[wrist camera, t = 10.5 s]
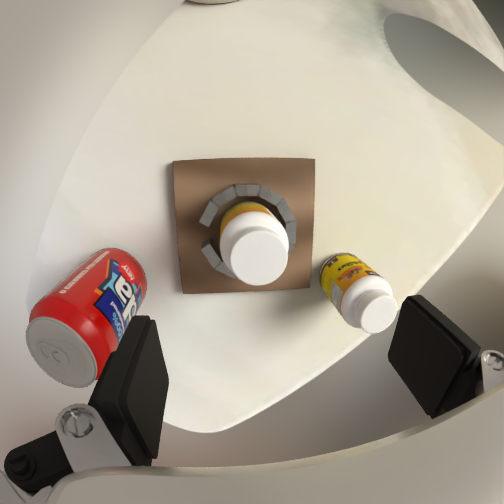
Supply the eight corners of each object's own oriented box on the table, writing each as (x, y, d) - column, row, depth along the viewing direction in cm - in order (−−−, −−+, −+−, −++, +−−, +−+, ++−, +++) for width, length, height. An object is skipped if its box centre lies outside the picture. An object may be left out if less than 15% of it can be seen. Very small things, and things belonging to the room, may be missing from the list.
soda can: (90, 238, 28) (11, 296, 14) (152, 253, 29) (101, 328, 15) (88, 298, 30) (29, 375, 16) (146, 314, 31) (108, 405, 17)
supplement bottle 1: (209, 229, 28) (202, 263, 19) (245, 188, 27) (256, 203, 18) (249, 262, 29) (260, 309, 20) (284, 224, 28) (313, 255, 19)
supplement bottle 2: (362, 250, 32) (411, 285, 22) (355, 293, 33) (396, 337, 24) (319, 250, 31) (358, 289, 21) (314, 295, 33) (346, 345, 23)
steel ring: (199, 184, 26) (197, 186, 24) (290, 182, 27) (296, 184, 25) (204, 271, 29) (203, 281, 27) (289, 268, 30) (294, 276, 28)
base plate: (175, 161, 27) (172, 161, 25) (311, 158, 28) (315, 158, 27) (184, 289, 31) (183, 293, 30) (306, 283, 32) (309, 287, 31)
